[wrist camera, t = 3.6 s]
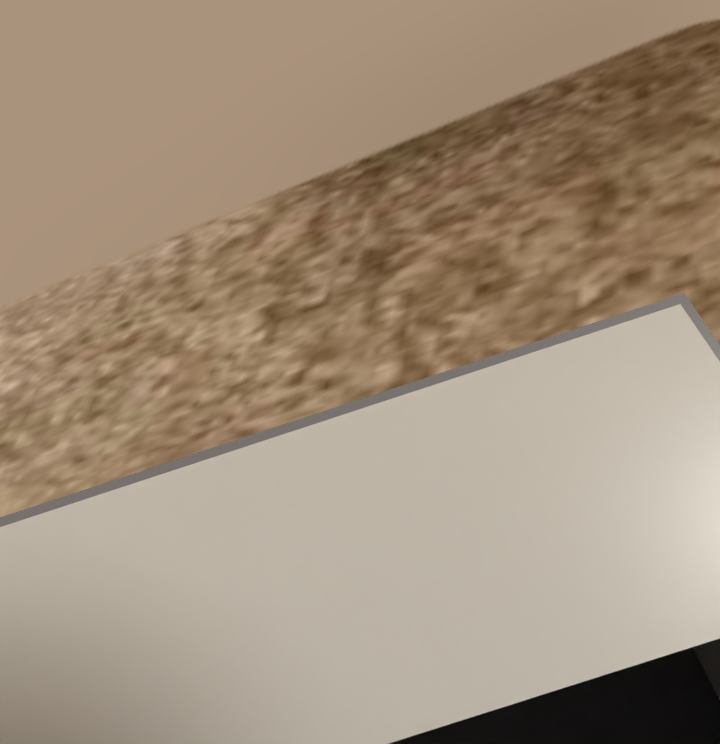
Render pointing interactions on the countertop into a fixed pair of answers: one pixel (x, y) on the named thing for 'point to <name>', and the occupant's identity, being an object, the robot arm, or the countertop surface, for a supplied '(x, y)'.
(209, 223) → the countertop surface
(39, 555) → the plug block
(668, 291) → the countertop surface
